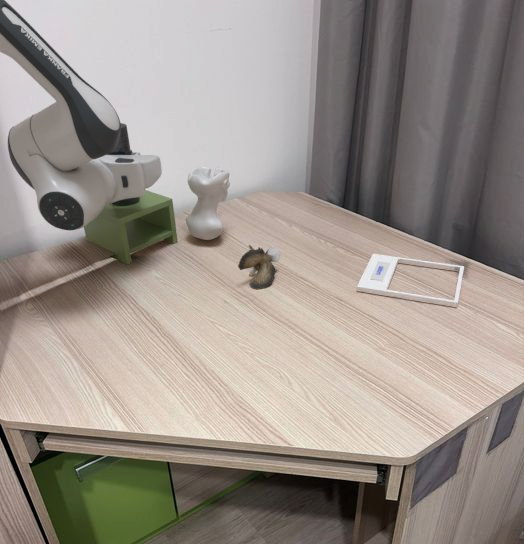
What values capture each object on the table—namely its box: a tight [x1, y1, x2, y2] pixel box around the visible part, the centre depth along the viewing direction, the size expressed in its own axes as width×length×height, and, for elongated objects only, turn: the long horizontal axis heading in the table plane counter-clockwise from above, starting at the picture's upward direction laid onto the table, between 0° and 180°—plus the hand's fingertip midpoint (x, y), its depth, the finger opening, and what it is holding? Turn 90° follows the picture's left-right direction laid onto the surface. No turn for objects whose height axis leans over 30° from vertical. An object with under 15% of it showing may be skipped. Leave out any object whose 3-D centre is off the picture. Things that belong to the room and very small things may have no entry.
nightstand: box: [83, 189, 179, 266], centre depth 117 cm, size 14×14×10 cm
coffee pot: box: [108, 122, 140, 206], centre depth 110 cm, size 10×6×16 cm, turn 174°
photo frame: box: [356, 253, 465, 308], centre depth 103 cm, size 15×1×18 cm
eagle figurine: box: [237, 244, 281, 290], centre depth 104 cm, size 8×7×9 cm
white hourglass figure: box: [185, 166, 231, 241], centre depth 118 cm, size 10×11×15 cm
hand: (119, 156), depth 109 cm, fingers closed on coffee pot, 6 cm apart
